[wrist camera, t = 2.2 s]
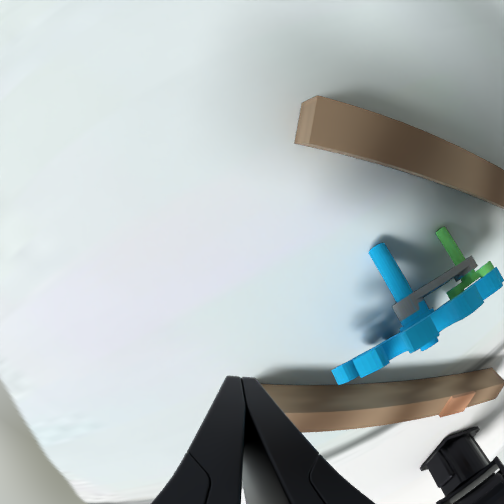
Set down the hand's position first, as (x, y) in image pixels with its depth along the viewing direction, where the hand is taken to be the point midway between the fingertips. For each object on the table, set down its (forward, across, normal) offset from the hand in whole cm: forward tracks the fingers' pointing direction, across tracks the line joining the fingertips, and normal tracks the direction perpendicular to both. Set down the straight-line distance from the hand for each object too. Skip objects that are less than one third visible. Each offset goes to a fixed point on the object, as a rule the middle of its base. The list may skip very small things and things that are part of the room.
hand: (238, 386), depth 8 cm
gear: (+8, -10, 0) cm, 13 cm away
